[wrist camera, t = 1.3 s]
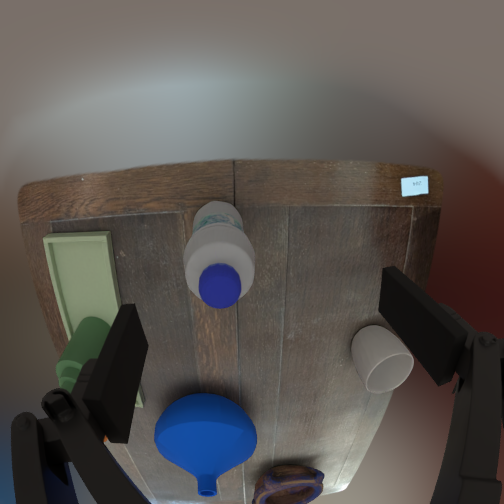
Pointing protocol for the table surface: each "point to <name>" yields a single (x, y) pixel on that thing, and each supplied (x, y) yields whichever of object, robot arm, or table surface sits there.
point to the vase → (205, 437)
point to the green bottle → (81, 350)
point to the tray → (84, 279)
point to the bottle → (219, 256)
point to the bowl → (288, 485)
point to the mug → (380, 359)
